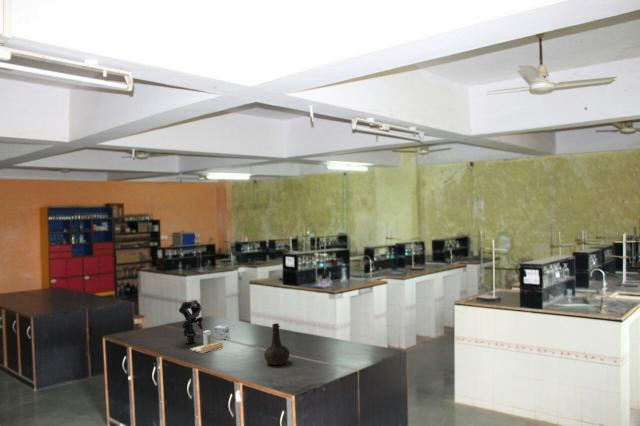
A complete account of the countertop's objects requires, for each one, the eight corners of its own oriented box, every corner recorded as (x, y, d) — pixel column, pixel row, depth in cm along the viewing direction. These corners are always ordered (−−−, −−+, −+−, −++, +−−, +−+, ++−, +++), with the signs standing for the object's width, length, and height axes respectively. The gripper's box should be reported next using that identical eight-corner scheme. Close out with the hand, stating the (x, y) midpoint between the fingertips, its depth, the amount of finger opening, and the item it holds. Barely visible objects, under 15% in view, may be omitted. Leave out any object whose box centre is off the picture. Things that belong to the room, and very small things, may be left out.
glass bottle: (273, 369, 346) (271, 328, 346) (260, 363, 361) (258, 324, 361) (294, 363, 357) (293, 323, 357) (281, 358, 371) (279, 320, 371)
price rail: (201, 351, 393) (200, 347, 393) (222, 345, 408) (221, 341, 408) (201, 351, 393) (201, 347, 393) (222, 345, 407) (222, 342, 407)
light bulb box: (229, 338, 440) (229, 325, 440) (225, 340, 434) (224, 327, 434) (219, 337, 444) (219, 325, 444) (214, 339, 438) (214, 327, 438)
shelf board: (190, 351, 403) (189, 348, 403) (211, 345, 418) (210, 342, 418) (201, 354, 393) (201, 351, 393) (222, 348, 407) (222, 345, 407)
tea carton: (203, 347, 404) (203, 331, 404) (208, 346, 407) (207, 330, 407) (207, 348, 401) (206, 331, 401) (211, 347, 405) (211, 330, 405)
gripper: (183, 311, 410) (193, 326, 404) (201, 307, 425) (211, 321, 419) (177, 320, 414) (187, 335, 408) (195, 316, 430) (204, 330, 424)
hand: (198, 330), depth 415 cm, fingers open, 9 cm apart
